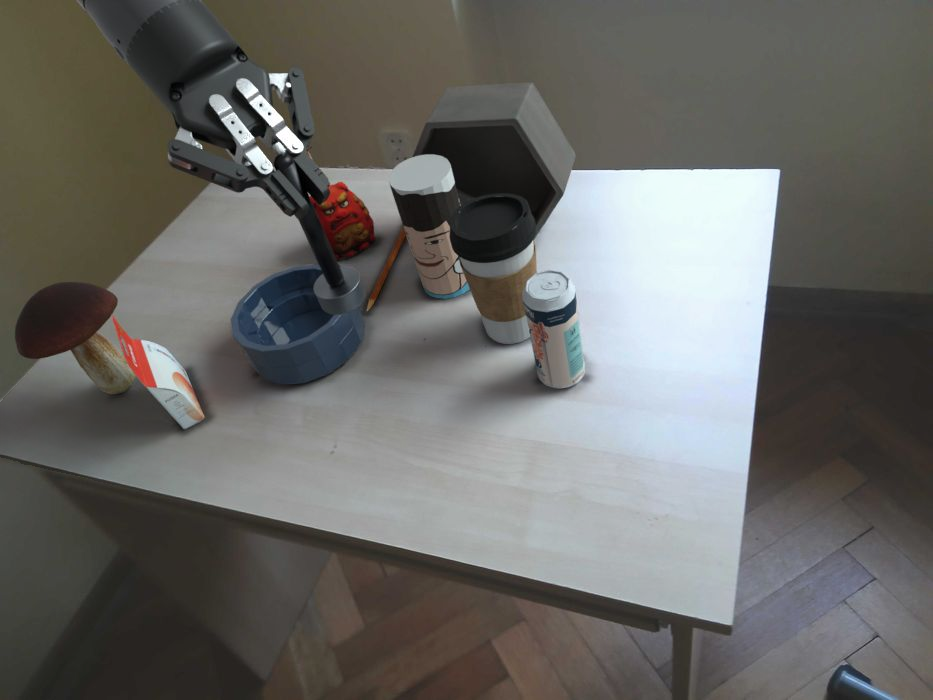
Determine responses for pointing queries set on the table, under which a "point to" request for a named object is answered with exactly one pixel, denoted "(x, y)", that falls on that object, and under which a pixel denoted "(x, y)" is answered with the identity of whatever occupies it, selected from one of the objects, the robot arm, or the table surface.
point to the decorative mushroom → (74, 331)
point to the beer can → (554, 328)
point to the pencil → (386, 269)
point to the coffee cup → (497, 260)
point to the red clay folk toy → (345, 221)
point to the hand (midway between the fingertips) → (315, 205)
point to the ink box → (162, 377)
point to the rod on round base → (324, 253)
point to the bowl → (293, 328)
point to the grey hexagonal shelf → (500, 144)
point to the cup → (429, 221)
